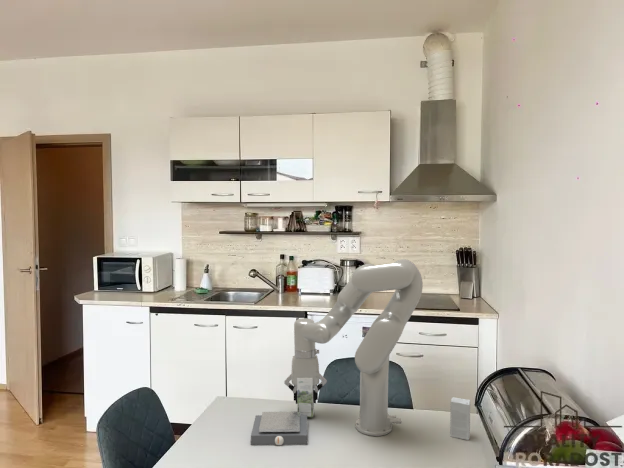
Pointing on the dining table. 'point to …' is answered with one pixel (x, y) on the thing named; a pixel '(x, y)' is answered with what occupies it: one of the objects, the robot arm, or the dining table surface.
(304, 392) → the syrup box
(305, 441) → the base
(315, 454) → the dining table surface
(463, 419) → the skincare box
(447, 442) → the dining table surface
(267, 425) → the pan
